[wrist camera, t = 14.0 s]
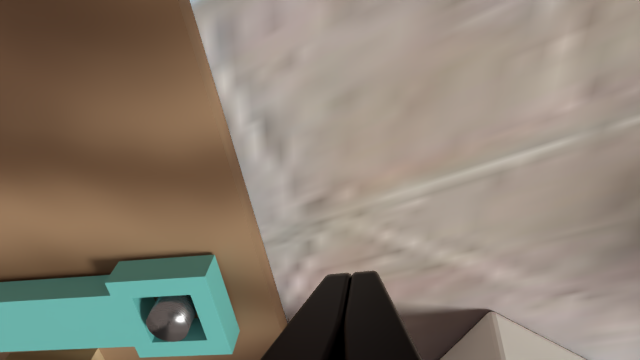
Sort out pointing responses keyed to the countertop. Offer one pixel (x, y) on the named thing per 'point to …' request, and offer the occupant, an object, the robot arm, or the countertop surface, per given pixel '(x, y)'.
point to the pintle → (171, 317)
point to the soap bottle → (505, 343)
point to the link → (119, 309)
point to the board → (122, 158)
